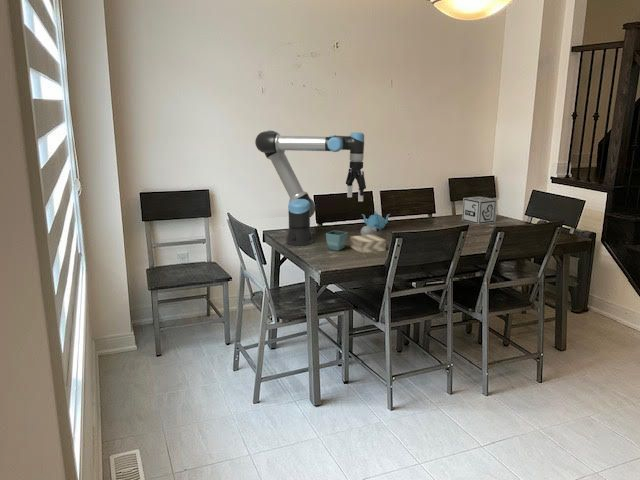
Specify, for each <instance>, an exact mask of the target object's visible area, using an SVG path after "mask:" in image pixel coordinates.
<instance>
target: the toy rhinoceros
mask: <svg viewBox="0 0 640 480" xmlns="http://www.w3.org/2000/svg"><path fill="white" fill-rule="evenodd" d="M375 228H376V227H374V228H373V227H372V226H371V227H370V226H367V225H364V226H362V228H361V229H360V236H361V235H371V234H374V235H376V236H377V234H378V233H377V229H375Z"/></svg>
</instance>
